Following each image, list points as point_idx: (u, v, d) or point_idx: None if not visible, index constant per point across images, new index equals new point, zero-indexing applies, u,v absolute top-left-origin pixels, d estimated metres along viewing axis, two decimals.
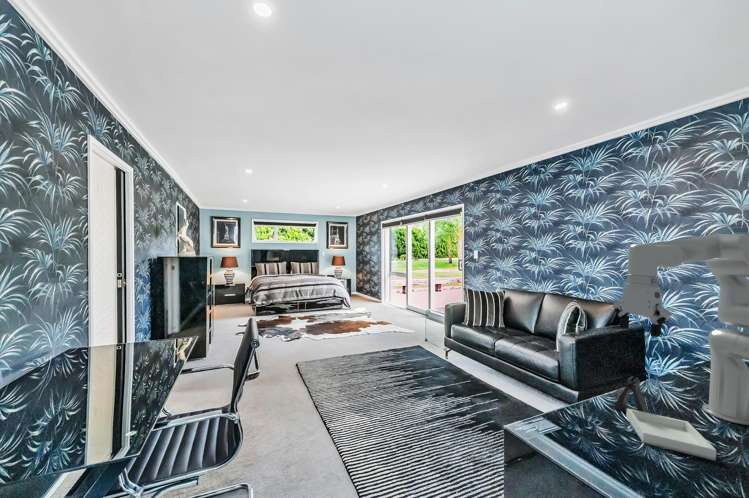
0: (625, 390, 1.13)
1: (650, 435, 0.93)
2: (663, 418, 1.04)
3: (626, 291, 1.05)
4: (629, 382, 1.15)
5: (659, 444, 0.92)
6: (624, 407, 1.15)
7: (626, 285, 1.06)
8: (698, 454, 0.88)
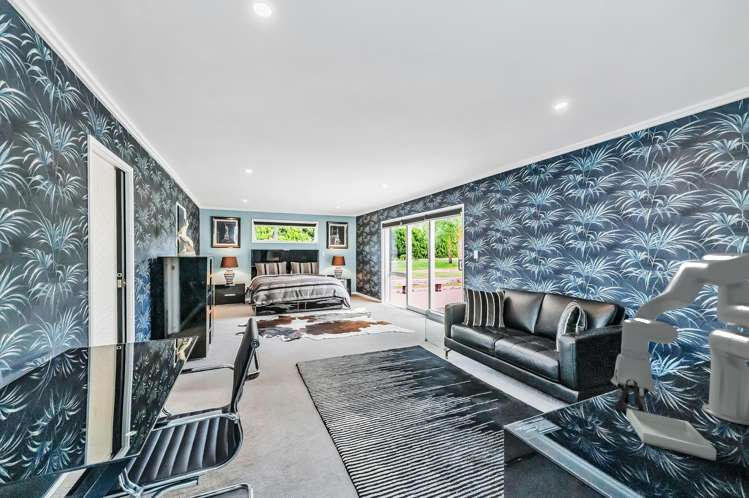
0: (626, 390, 1.12)
1: (650, 435, 0.93)
2: (663, 418, 1.04)
3: (625, 364, 1.13)
4: None
5: (659, 444, 0.92)
6: (624, 407, 1.15)
7: (624, 359, 1.13)
8: (698, 454, 0.88)
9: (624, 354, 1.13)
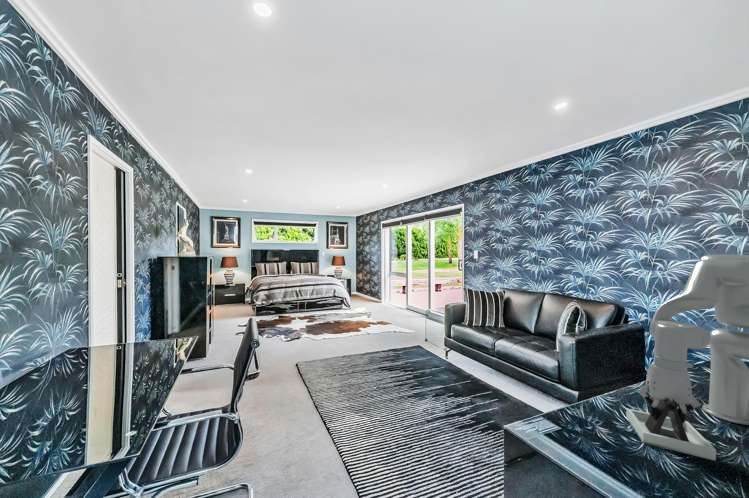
0: (665, 412, 0.96)
1: (650, 435, 0.93)
2: None
3: (660, 376, 0.97)
4: None
5: (659, 444, 0.92)
6: None
7: (658, 369, 0.97)
8: (698, 454, 0.88)
9: (658, 364, 0.98)
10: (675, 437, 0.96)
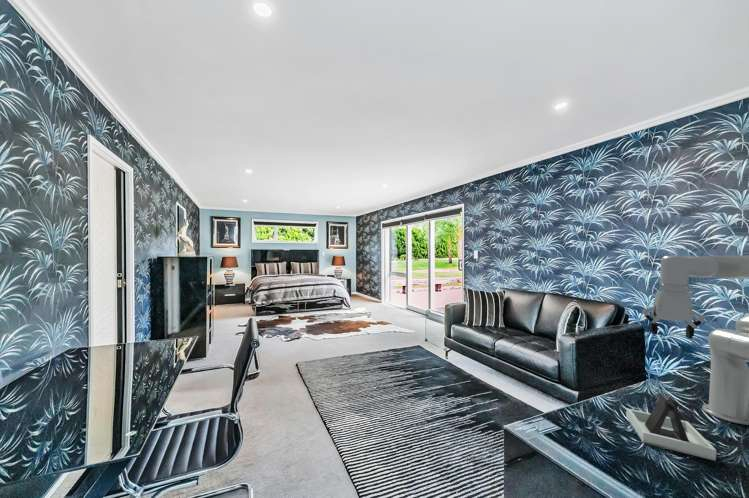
0: (665, 412, 0.96)
1: (650, 435, 0.93)
2: None
3: (665, 299, 1.13)
4: None
5: (659, 444, 0.92)
6: None
7: (664, 294, 1.13)
8: (698, 454, 0.88)
9: (664, 289, 1.14)
10: (675, 437, 0.96)
